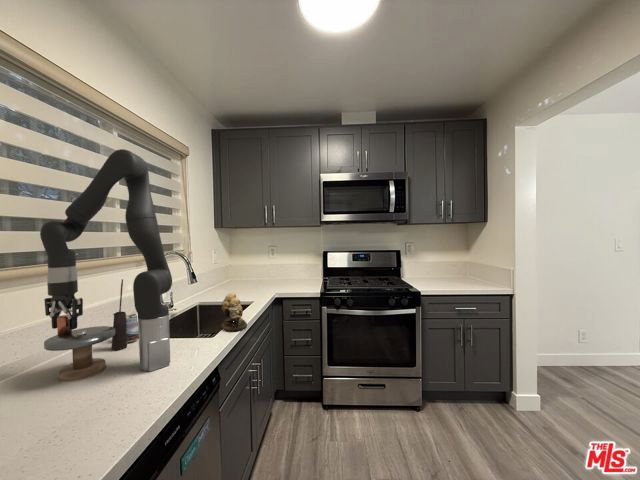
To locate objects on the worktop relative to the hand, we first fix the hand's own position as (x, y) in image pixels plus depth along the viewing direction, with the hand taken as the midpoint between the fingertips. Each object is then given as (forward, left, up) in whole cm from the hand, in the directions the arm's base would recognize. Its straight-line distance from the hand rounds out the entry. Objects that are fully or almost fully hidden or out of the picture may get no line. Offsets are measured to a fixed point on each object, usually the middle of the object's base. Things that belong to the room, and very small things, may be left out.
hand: (64, 328), depth 94 cm
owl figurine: (-4, -61, -15) cm, 63 cm away
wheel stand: (-7, -4, -14) cm, 16 cm away
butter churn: (+7, -16, -15) cm, 23 cm away
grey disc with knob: (-6, -4, -3) cm, 8 cm away
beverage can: (+14, -22, -15) cm, 30 cm away
